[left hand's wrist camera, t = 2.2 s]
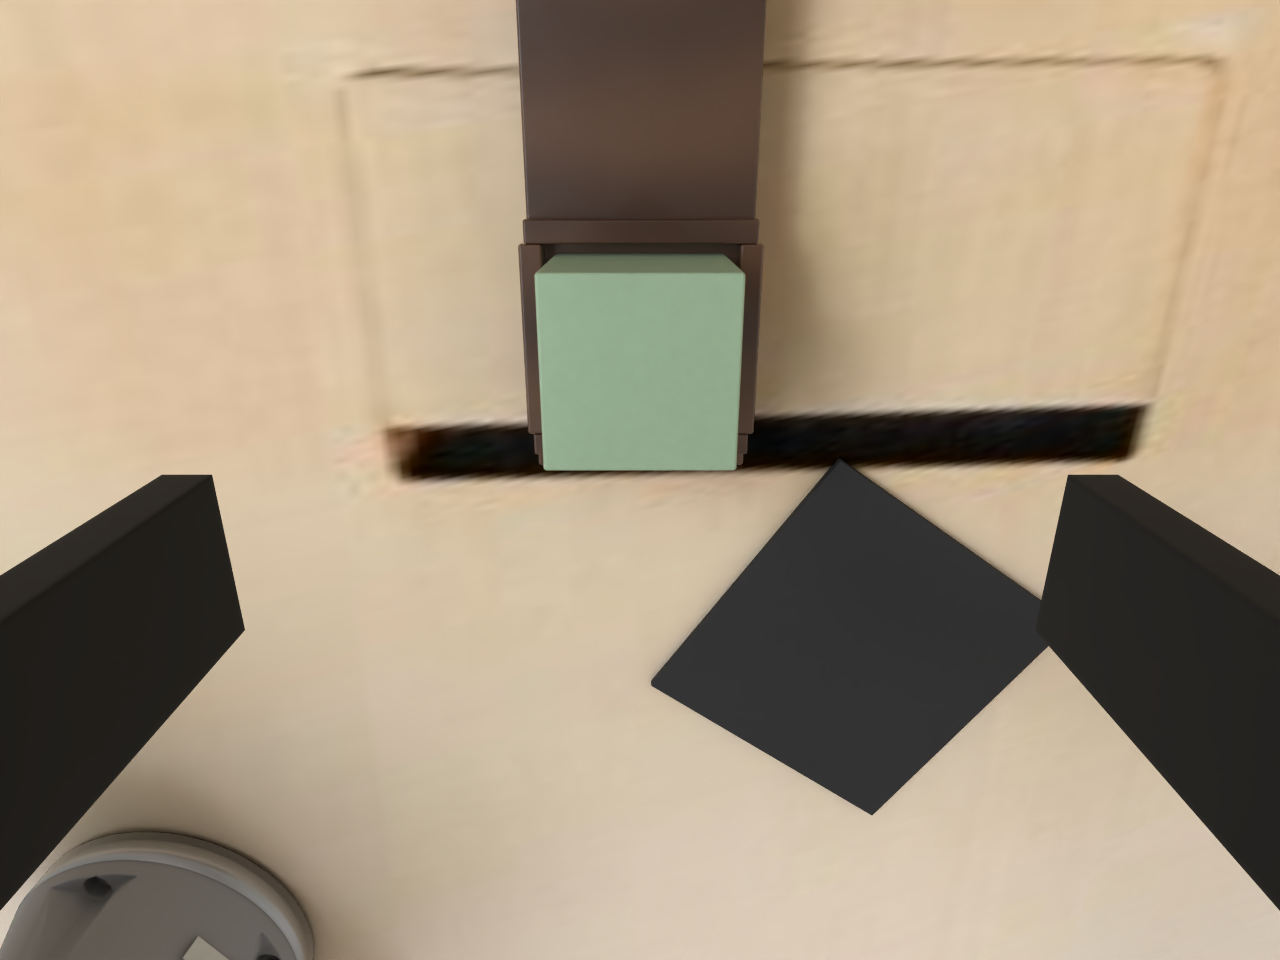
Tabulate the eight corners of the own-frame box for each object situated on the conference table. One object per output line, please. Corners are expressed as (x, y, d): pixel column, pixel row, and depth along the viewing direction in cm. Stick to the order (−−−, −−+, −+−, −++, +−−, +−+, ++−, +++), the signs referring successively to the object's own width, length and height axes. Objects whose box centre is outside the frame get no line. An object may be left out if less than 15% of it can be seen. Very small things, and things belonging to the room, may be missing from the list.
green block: (718, 416, 30) (736, 471, 24) (561, 416, 30) (543, 471, 24) (724, 253, 28) (745, 272, 22) (555, 253, 28) (533, 272, 22)
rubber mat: (870, 810, 41) (872, 815, 40) (650, 680, 38) (650, 685, 37) (1067, 619, 37) (1072, 623, 36) (838, 457, 34) (840, 460, 33)
